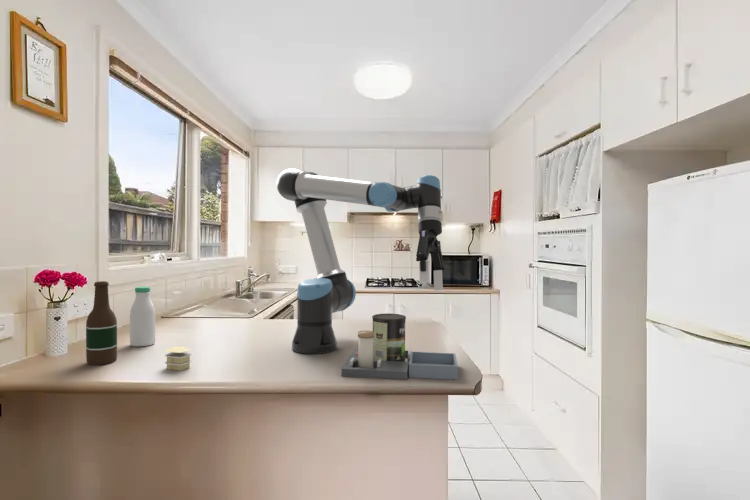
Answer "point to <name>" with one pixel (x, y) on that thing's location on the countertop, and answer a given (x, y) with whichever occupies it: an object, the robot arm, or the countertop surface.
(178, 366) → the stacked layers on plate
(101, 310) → the beer bottle
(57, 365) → the countertop surface
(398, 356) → the coffee can
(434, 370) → the tray
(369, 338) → the spice jar
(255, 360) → the countertop surface
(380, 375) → the grey holder base
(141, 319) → the milk bottle
